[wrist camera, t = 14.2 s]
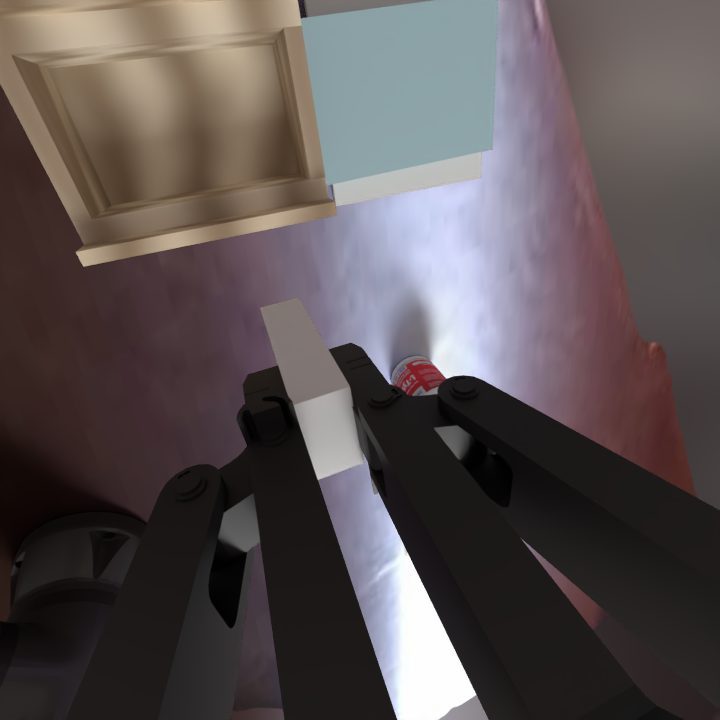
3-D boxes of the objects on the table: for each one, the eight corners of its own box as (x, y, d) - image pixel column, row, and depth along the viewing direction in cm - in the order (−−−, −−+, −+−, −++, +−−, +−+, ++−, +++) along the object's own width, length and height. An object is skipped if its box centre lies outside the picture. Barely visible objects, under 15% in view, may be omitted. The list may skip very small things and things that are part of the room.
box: (113, 236, 33) (83, 266, 26) (13, 26, 25) (-69, -16, 18) (313, 198, 37) (337, 215, 29) (278, 3, 29) (298, -40, 22)
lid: (317, 183, 36) (323, 186, 34) (287, 26, 29) (292, 19, 27) (478, 148, 39) (492, 149, 37) (481, -1, 32) (498, -9, 30)
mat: (334, 205, 38) (336, 206, 37) (301, -17, 29) (302, -20, 28) (477, 177, 41) (480, 177, 40) (486, -31, 32) (491, -34, 31)
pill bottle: (394, 354, 49) (434, 404, 40) (436, 353, 51) (483, 401, 42) (385, 394, 52) (421, 449, 43) (425, 392, 54) (467, 444, 45)
